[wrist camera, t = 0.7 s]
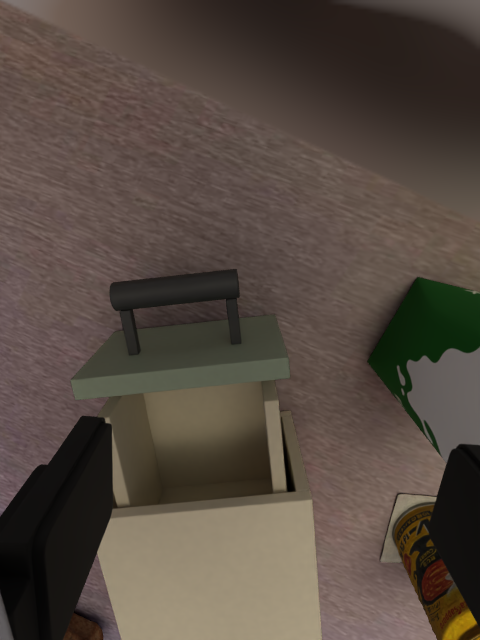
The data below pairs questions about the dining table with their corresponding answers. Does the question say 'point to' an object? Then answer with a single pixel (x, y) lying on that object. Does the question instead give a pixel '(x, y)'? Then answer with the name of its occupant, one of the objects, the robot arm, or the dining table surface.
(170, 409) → the drawer
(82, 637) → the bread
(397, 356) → the milk carton
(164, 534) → the cabinet
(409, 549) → the condiment
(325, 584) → the dining table surface
